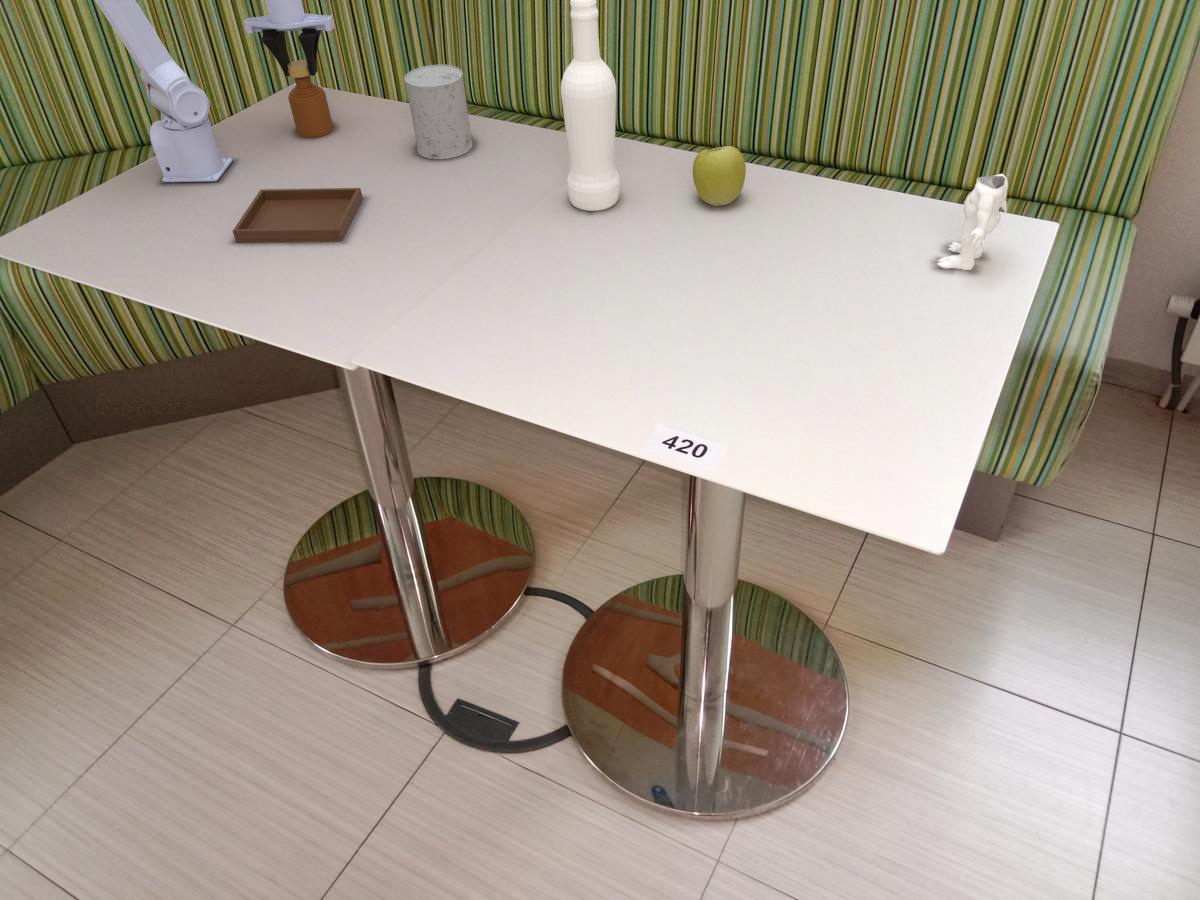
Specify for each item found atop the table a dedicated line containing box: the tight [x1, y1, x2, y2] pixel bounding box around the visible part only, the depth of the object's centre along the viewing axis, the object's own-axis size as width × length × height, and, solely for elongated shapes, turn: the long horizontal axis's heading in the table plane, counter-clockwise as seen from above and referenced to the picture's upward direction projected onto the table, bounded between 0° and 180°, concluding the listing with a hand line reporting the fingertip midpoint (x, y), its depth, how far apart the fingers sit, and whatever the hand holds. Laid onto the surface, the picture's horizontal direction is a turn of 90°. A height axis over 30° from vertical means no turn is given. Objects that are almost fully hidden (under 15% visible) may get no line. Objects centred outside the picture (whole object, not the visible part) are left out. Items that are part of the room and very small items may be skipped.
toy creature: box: [936, 173, 1009, 271], centre depth 128 cm, size 12×6×12 cm, turn 147°
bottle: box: [560, 0, 621, 212], centre depth 140 cm, size 8×8×30 cm
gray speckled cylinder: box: [403, 64, 473, 160], centre depth 162 cm, size 10×10×12 cm
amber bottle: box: [287, 75, 334, 139], centre depth 171 cm, size 6×6×10 cm
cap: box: [287, 59, 310, 79], centre depth 167 cm, size 4×4×2 cm
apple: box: [692, 141, 747, 207], centre depth 145 cm, size 8×8×10 cm
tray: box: [232, 187, 364, 243], centre depth 148 cm, size 16×13×2 cm
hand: (301, 73), depth 167 cm, fingers closed on cap, 4 cm apart
